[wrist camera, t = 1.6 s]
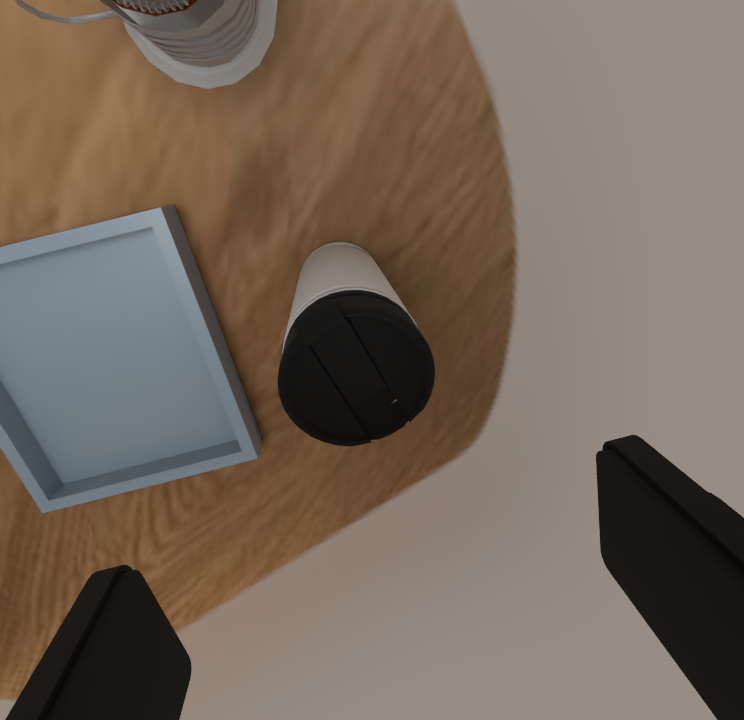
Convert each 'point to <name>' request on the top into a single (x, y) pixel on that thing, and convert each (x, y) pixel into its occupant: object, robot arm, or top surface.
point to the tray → (114, 363)
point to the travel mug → (351, 351)
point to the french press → (193, 35)
